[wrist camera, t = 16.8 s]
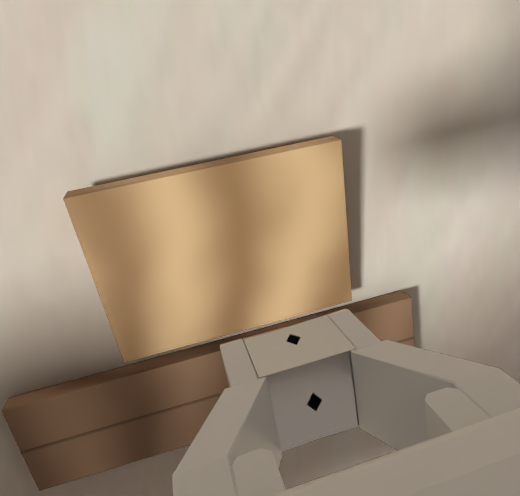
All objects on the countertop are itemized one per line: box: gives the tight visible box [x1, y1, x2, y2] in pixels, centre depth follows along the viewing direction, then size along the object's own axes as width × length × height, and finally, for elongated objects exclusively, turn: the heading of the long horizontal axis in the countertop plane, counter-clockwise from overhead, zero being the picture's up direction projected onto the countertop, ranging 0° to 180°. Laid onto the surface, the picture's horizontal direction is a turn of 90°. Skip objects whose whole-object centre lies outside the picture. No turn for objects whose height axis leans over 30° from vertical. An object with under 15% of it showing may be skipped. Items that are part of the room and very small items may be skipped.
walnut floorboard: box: [2, 290, 414, 491], centre depth 27 cm, size 25×6×1 cm, turn 100°
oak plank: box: [64, 136, 352, 363], centre depth 24 cm, size 14×10×1 cm
